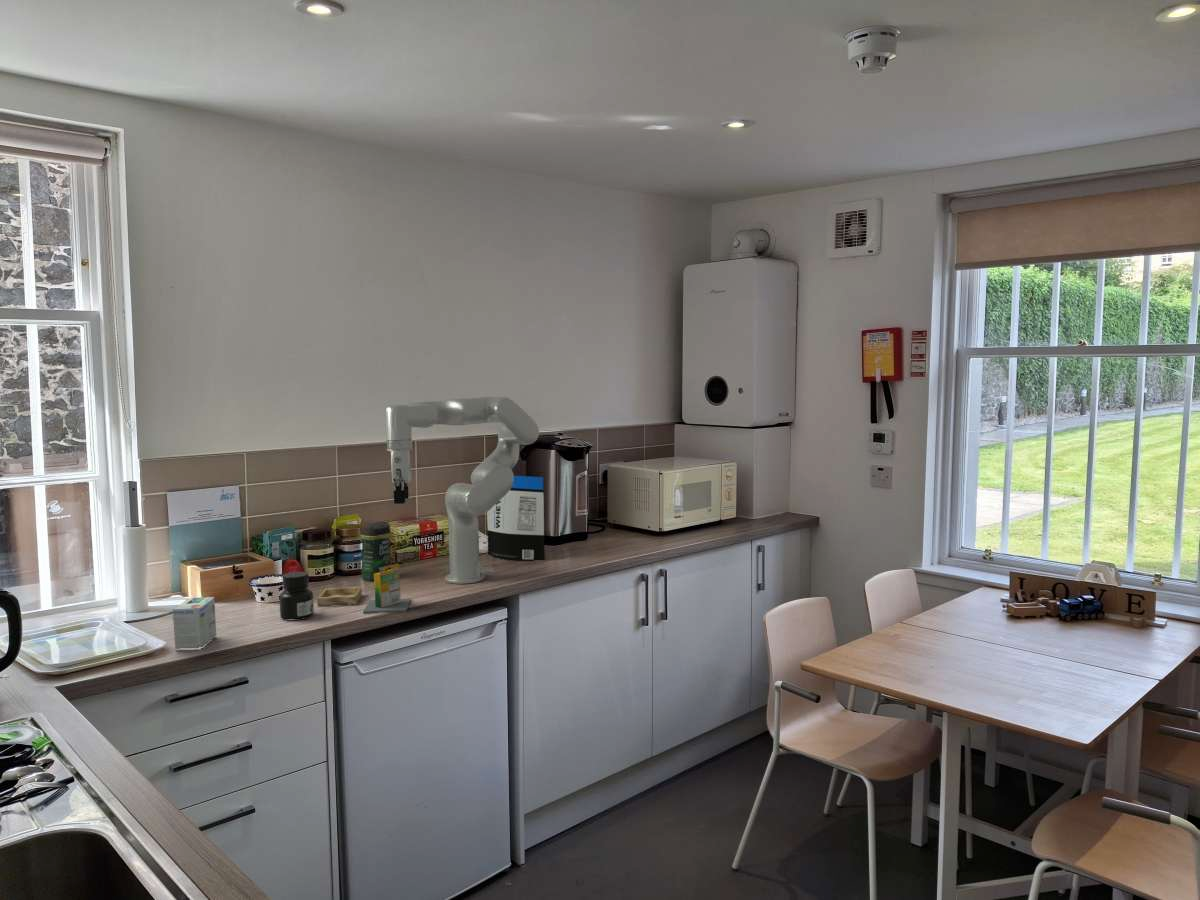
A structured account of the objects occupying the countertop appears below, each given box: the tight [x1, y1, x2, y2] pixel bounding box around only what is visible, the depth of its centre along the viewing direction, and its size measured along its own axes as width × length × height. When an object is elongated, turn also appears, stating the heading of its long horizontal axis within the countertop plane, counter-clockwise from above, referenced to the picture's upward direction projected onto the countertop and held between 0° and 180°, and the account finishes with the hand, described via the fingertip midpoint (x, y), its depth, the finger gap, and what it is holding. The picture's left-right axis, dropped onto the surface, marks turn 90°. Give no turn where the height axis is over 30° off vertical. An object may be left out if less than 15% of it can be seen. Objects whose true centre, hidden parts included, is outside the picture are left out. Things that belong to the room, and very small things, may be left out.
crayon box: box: [373, 563, 402, 608], centre depth 249 cm, size 7×3×12 cm, turn 144°
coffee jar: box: [360, 521, 392, 582], centre depth 283 cm, size 10×8×19 cm
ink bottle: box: [279, 571, 315, 620], centre depth 240 cm, size 10×9×12 cm
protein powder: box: [486, 475, 546, 562], centre depth 311 cm, size 10×24×30 cm, turn 63°
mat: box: [362, 598, 412, 614], centre depth 250 cm, size 12×12×1 cm
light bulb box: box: [172, 596, 217, 650], centre depth 218 cm, size 11×7×11 cm, turn 5°
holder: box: [316, 586, 363, 607], centre depth 257 cm, size 11×11×2 cm
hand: (401, 501), depth 264 cm, fingers open, 9 cm apart
